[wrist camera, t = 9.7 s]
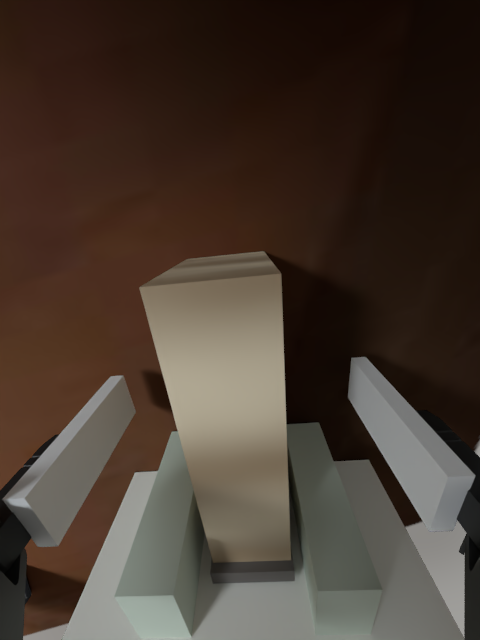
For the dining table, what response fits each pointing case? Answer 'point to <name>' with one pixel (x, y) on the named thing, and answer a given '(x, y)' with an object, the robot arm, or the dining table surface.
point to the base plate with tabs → (263, 597)
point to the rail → (229, 405)
